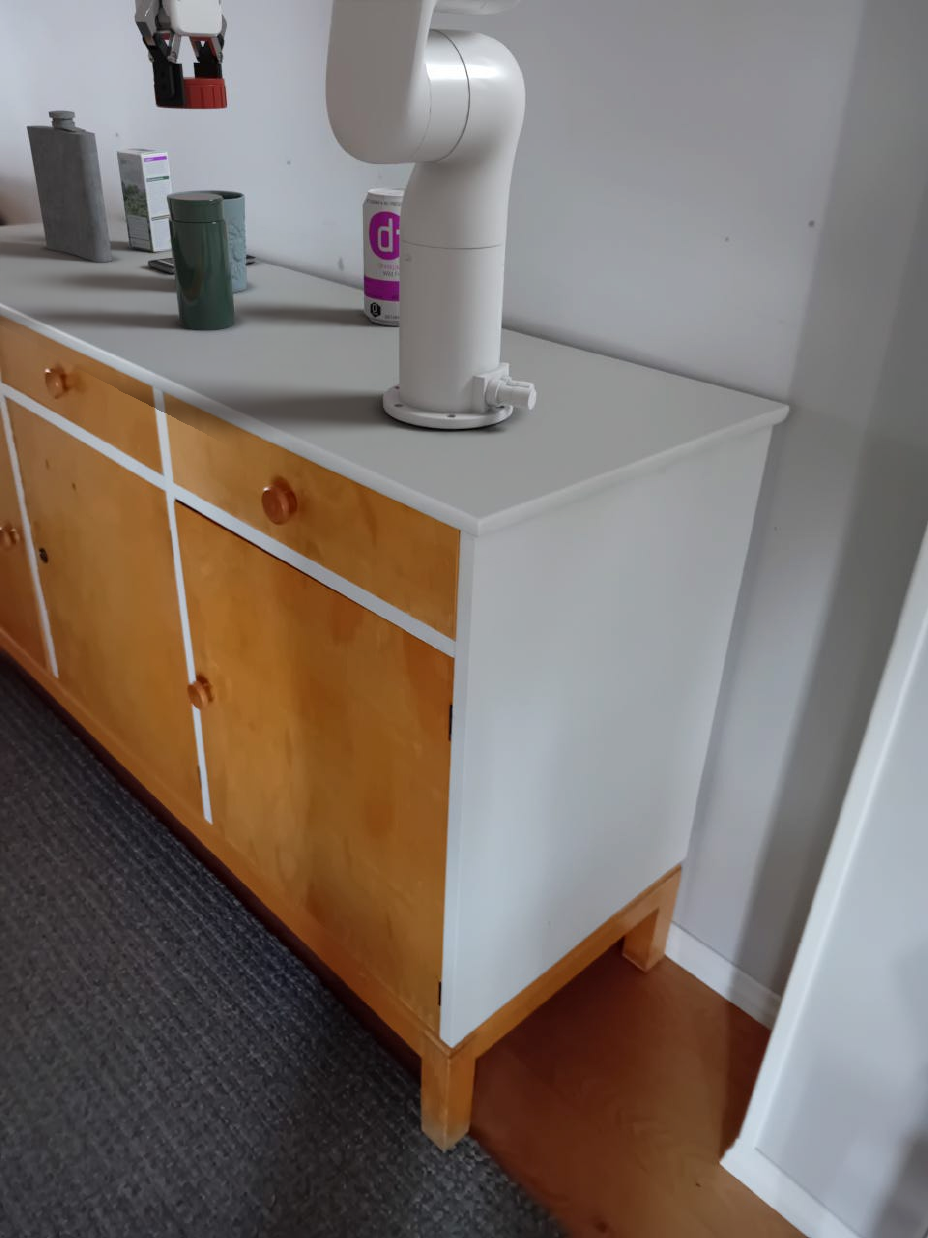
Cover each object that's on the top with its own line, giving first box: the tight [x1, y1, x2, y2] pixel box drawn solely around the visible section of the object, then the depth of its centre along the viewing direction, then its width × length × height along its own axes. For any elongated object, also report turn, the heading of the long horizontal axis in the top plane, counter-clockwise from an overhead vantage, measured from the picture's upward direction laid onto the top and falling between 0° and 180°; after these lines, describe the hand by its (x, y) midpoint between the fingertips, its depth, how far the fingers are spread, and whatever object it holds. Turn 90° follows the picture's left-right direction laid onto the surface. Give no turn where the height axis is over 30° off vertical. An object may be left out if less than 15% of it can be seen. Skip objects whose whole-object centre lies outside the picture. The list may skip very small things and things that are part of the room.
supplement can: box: [362, 187, 406, 327], centre depth 123 cm, size 8×8×15 cm
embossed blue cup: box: [167, 189, 248, 293], centre depth 135 cm, size 10×10×12 cm
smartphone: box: [147, 254, 257, 274], centre depth 151 cm, size 7×1×15 cm
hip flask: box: [26, 110, 113, 263], centre depth 151 cm, size 16×4×20 cm, turn 49°
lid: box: [153, 76, 228, 110], centre depth 108 cm, size 8×8×3 cm
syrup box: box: [116, 148, 173, 253], centre depth 158 cm, size 6×6×14 cm
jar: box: [168, 193, 236, 331], centre depth 118 cm, size 7×7×14 cm
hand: (191, 103), depth 108 cm, fingers closed on lid, 7 cm apart
